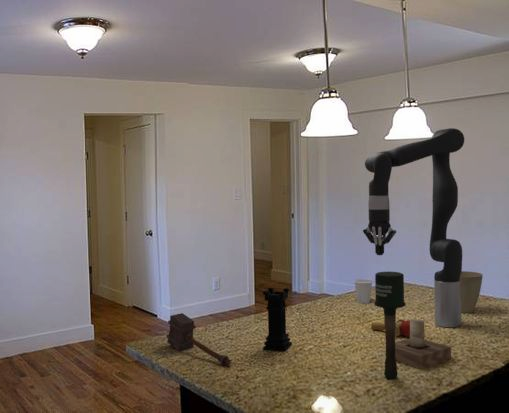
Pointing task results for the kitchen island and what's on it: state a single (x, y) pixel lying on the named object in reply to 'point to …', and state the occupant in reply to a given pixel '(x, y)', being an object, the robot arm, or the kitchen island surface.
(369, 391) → the kitchen island surface
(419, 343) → the peg
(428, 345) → the block
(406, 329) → the kendama
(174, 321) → the hammer
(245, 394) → the kitchen island surface
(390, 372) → the potato masher grenade
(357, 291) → the dixie cup
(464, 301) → the plant pot
